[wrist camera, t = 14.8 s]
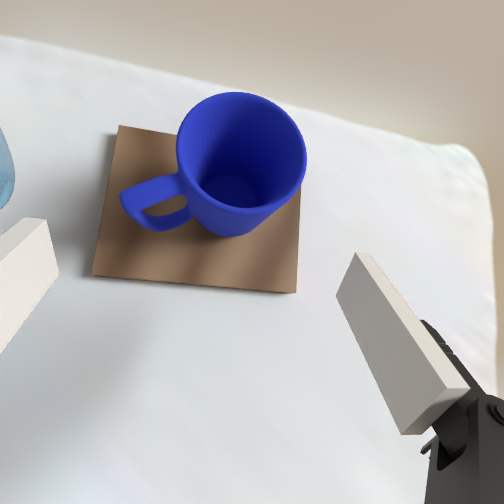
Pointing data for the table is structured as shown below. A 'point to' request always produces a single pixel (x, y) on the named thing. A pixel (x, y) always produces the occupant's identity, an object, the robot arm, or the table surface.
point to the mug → (226, 167)
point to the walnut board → (187, 231)
